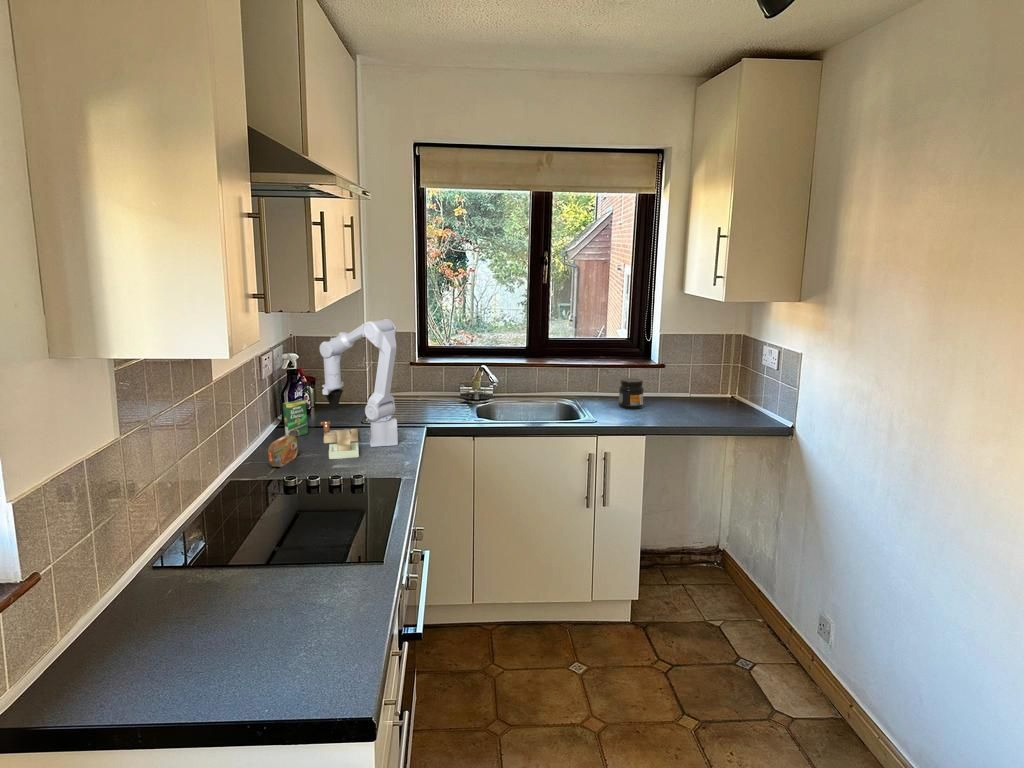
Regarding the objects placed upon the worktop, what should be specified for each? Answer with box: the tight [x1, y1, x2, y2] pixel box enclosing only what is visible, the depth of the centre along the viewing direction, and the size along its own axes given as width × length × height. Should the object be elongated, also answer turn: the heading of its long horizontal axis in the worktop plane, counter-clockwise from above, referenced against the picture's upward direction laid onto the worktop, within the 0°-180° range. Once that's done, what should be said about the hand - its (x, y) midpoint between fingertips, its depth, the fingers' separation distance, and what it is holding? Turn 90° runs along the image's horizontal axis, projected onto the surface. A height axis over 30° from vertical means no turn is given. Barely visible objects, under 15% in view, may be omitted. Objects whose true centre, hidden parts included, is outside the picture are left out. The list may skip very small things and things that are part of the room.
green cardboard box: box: [282, 398, 309, 438], centre depth 251 cm, size 8×3×13 cm, turn 133°
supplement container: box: [618, 377, 645, 410], centre depth 295 cm, size 10×10×12 cm
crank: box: [320, 420, 352, 435], centre depth 248 cm, size 11×3×5 cm, turn 103°
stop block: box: [336, 430, 351, 451], centre depth 231 cm, size 4×4×7 cm
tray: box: [328, 442, 360, 460], centre depth 231 cm, size 10×10×2 cm
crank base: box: [323, 428, 359, 444], centre depth 250 cm, size 12×11×2 cm
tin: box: [267, 434, 299, 468], centre depth 221 cm, size 15×3×8 cm, turn 168°
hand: (334, 409), depth 252 cm, fingers closed
